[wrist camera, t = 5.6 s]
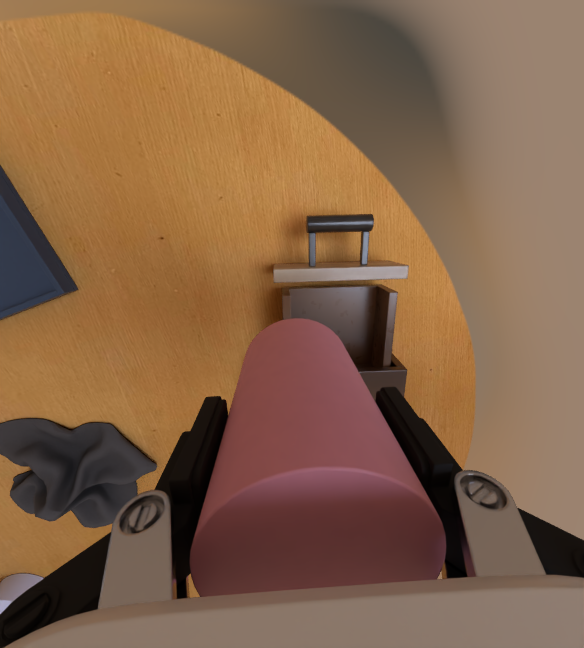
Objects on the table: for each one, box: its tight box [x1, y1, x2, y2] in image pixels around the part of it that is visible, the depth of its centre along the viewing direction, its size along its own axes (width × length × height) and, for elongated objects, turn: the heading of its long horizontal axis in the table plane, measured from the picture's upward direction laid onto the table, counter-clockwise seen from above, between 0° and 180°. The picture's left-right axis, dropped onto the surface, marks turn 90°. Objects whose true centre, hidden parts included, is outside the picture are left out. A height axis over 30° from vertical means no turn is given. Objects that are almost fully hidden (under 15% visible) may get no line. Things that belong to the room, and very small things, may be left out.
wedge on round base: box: [0, 574, 44, 614], centre depth 43 cm, size 9×7×13 cm
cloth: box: [0, 418, 157, 528], centre depth 35 cm, size 22×19×6 cm
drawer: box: [273, 214, 409, 368], centre depth 28 cm, size 17×12×5 cm
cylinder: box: [190, 318, 446, 597], centre depth 11 cm, size 6×6×10 cm
